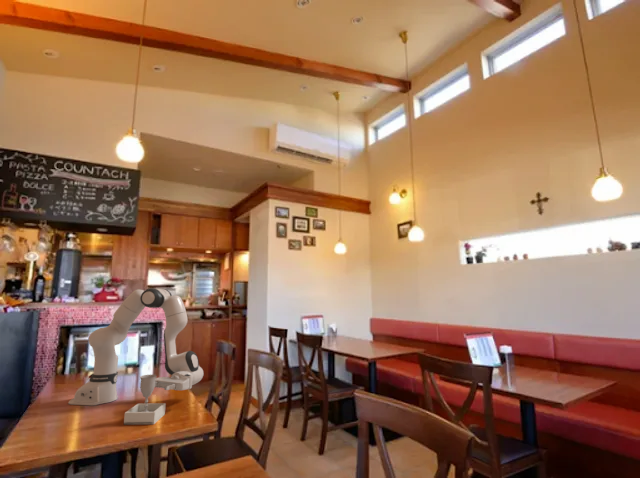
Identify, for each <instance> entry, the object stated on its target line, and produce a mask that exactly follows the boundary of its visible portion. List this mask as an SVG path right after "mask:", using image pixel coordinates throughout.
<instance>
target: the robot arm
mask: <svg viewBox="0 0 640 478" xmlns="http://www.w3.org/2000/svg"><path fill="white" fill-rule="evenodd" d="M145 308H149V309H157V308H158V309H159V308H160V309H162V310H163V312H164V316H165V317H164V318H165V322H166V323H165V329H164V331H163V343H164V355H165V357H164V359H165V361H164V370H165V371H166V372H167V373H168V374H169V375H171V376H170V377H169V376H159V377H156V379H155V387H154V388H158V389H159V388H160V389H164V390H165V391H169V390H174V391H185V390H191V389H192V387H193V385H196V384H198V383H199V382H200V381H201V380H202V379H203V377H204V370H203V368H202V367H201V366H200V363H199V362H200V361H199V357H198V355H197V353H196V352H194V351H192V350H188V351H184V352H182V353H181V352H180V353H179V354H178V353H177V345H176V339H177V336H178V334H179V333H181V332H182V331H183V330H184V329H185V327H186V326H187V324H188V319H189V318H188V313H187V310H186V307H185V304H184V301H183V299H182V298H181V296H180V295H173V294H172V292H170V291H169V290H168V289H166V288H162V287H161V288H160V287H156V288H155V287H152V288H151V287H150V288H148V289H145V290H144V289H135V290H134V291H133V290H132V292H131V293H130V294H129V295H128V296H127V297H126V298H125V299H124V300H123V301H122V303H121V304H119V307H118V308H117V309H116V311H115V312H114V313H113V318H112V321H111V322H110V324H109V325H108V326H104V327H100V328H97V329H96V330H94V331H92V332H91V333H90V334H89V336H88V344H89V345H90V347H91V348H92V351H93V355H94V363H93V364H94V365H93V373H91V374H90V375H88V376H87V379H89V380H88V381H87V382H86V383H85V384H82V386H80V387H78V389H77V390H76V392H75V394H74V396H73V397H74V398H72V399H70V400H69V401H68V403H67V404H68V405H73V406H74V405H76V406H77V405H78V406H98V405H101V404H108V403H111V402H114V401H117V400H118V399H119V398H118V394H117V393H118V392H117V382H118V376H119V375H118V373H119V372H118V363H119V356H118V355H117V353H116V349H115V347H116V345H119V344H122V342H124V341H125V340H126V339H127V337H128V332H129V330H130V329H131V326H132V325H133V323H134V322H135V321H136V320H137V318H138V317H139V315H140V314H141V313H142V311H143V310H144V309H145Z"/></svg>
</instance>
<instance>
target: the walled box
mask: <svg viewBox="0 0 640 478" xmlns="http://www.w3.org/2000/svg"><path fill="white" fill-rule="evenodd" d="M144 405H145V403H137V404H135V405H134V406H132V407H130V408H129V409H128V410H127V411H125V412H124V415H123V416H124V419H123V425H124V426H128V425H129V426H130V425H132V426H133V425H134V426H135V425H139V426H140V425H155V424H156V423H157V422H158V421H160V420H161V418H162V417H164V416H165V413H166V405H167V404H166V402H164V403H160V402H159V403H158V402H157V403H155V402H154V403H147V405H148V406H147V411H149V412H143V411H144V409H145V407H144Z"/></svg>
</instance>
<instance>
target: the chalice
mask: <svg viewBox="0 0 640 478" xmlns="http://www.w3.org/2000/svg"><path fill="white" fill-rule="evenodd" d="M139 378H140V383H139V384H140V386H139V388H140V392H141V395H142V396H143V398H145V400H144V404H145V405H144V407H145V409H144V411H143V412H149V411H147V406H148V405H147V403H148V402H149V399H148V398H149V397H151V395H152V393H153V392H154V389H155V388H156V387H155V379H156V378H157V374H144V375H140V376H139Z"/></svg>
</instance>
